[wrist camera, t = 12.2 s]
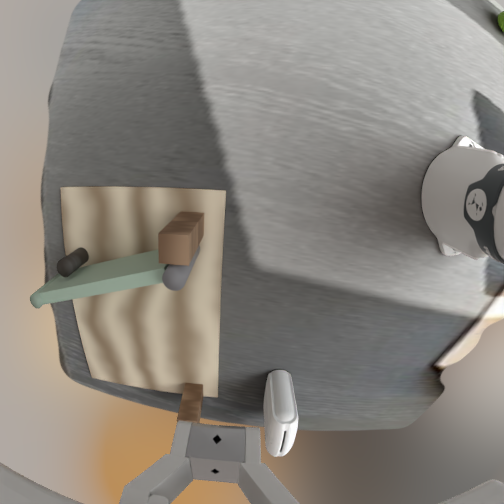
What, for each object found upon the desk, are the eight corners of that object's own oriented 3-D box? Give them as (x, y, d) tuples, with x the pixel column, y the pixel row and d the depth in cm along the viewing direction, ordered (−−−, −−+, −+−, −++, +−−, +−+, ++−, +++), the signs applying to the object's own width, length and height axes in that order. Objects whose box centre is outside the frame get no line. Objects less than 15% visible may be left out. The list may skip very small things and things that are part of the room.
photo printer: (284, 408, 50) (291, 462, 38) (261, 408, 49) (264, 462, 38) (292, 368, 46) (303, 425, 35) (266, 368, 46) (271, 426, 34)
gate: (197, 237, 38) (181, 266, 28) (202, 255, 38) (188, 288, 29) (58, 270, 39) (22, 298, 30) (64, 284, 40) (29, 314, 30)
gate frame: (226, 190, 37) (217, 205, 27) (218, 395, 48) (213, 443, 38) (62, 186, 36) (14, 201, 26) (93, 375, 47) (70, 415, 37)
